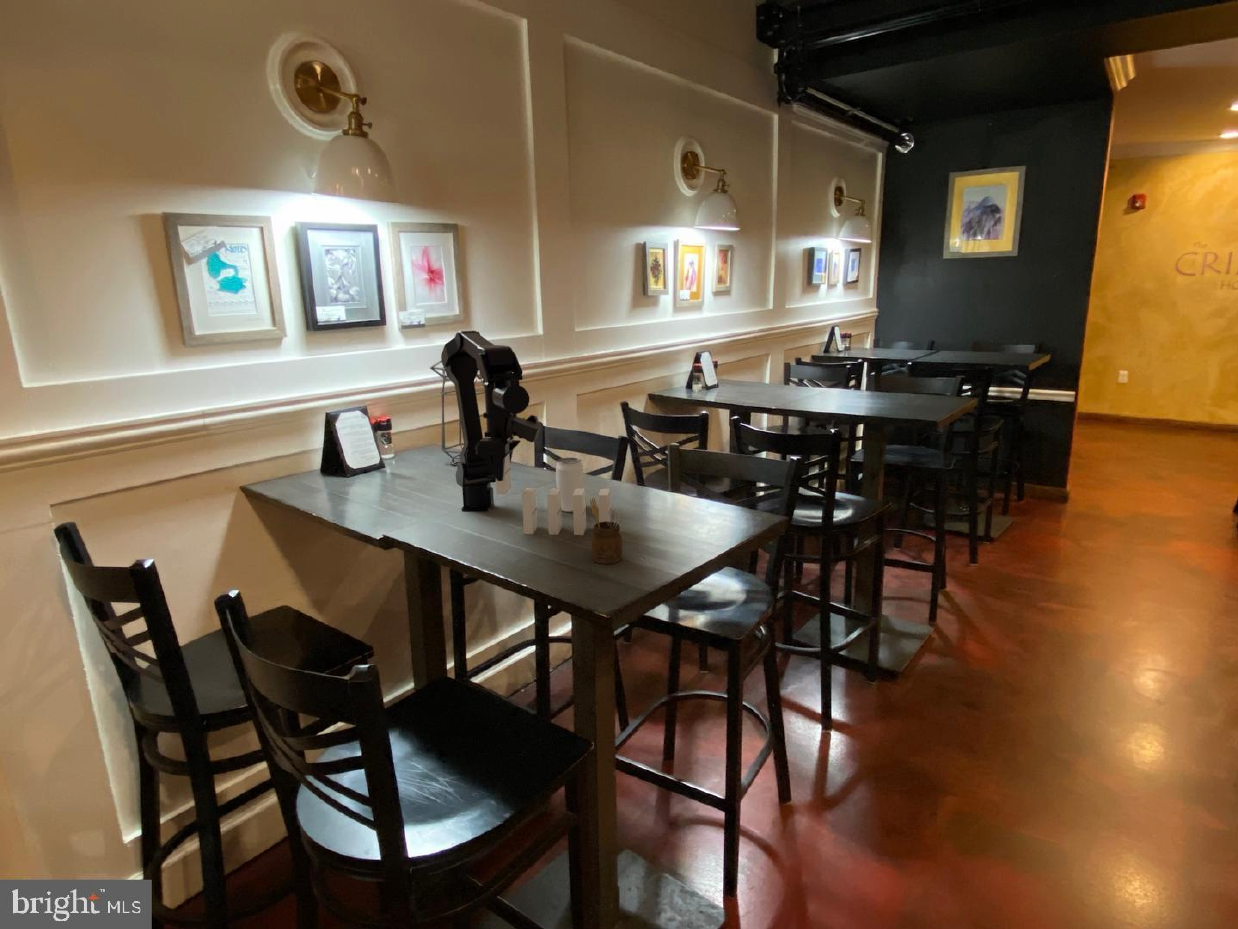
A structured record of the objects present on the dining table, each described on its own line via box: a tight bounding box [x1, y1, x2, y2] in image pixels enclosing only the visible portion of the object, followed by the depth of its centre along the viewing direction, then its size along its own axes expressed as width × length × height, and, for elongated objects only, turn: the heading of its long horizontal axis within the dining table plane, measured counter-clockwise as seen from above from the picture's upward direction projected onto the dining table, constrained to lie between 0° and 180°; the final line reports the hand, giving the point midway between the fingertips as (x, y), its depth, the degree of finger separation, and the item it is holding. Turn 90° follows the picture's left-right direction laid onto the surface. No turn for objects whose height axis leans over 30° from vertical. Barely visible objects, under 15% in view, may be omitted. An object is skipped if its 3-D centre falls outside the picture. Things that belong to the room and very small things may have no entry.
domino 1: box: [495, 454, 512, 495], centre depth 154 cm, size 2×5×9 cm, turn 175°
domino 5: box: [597, 488, 612, 522], centre depth 155 cm, size 2×5×9 cm, turn 175°
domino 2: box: [521, 487, 538, 535], centre depth 156 cm, size 2×5×9 cm, turn 175°
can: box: [555, 457, 585, 513], centre depth 171 cm, size 6×6×12 cm
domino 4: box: [572, 488, 587, 536], centre depth 155 cm, size 2×5×9 cm, turn 175°
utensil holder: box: [589, 497, 623, 565], centre depth 139 cm, size 6×6×12 cm
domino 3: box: [546, 487, 563, 536], centre depth 156 cm, size 2×5×9 cm, turn 175°
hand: (503, 477), depth 155 cm, fingers closed on domino 1, 5 cm apart
